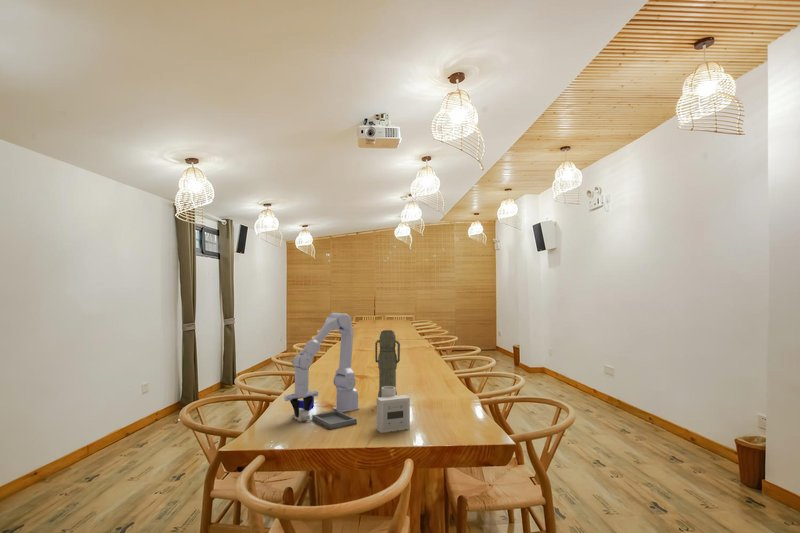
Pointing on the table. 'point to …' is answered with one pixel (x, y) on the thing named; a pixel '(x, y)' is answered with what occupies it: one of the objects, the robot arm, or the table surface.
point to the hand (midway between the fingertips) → (301, 415)
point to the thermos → (387, 359)
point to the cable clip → (303, 404)
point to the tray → (334, 419)
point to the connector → (302, 415)
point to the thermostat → (392, 411)
